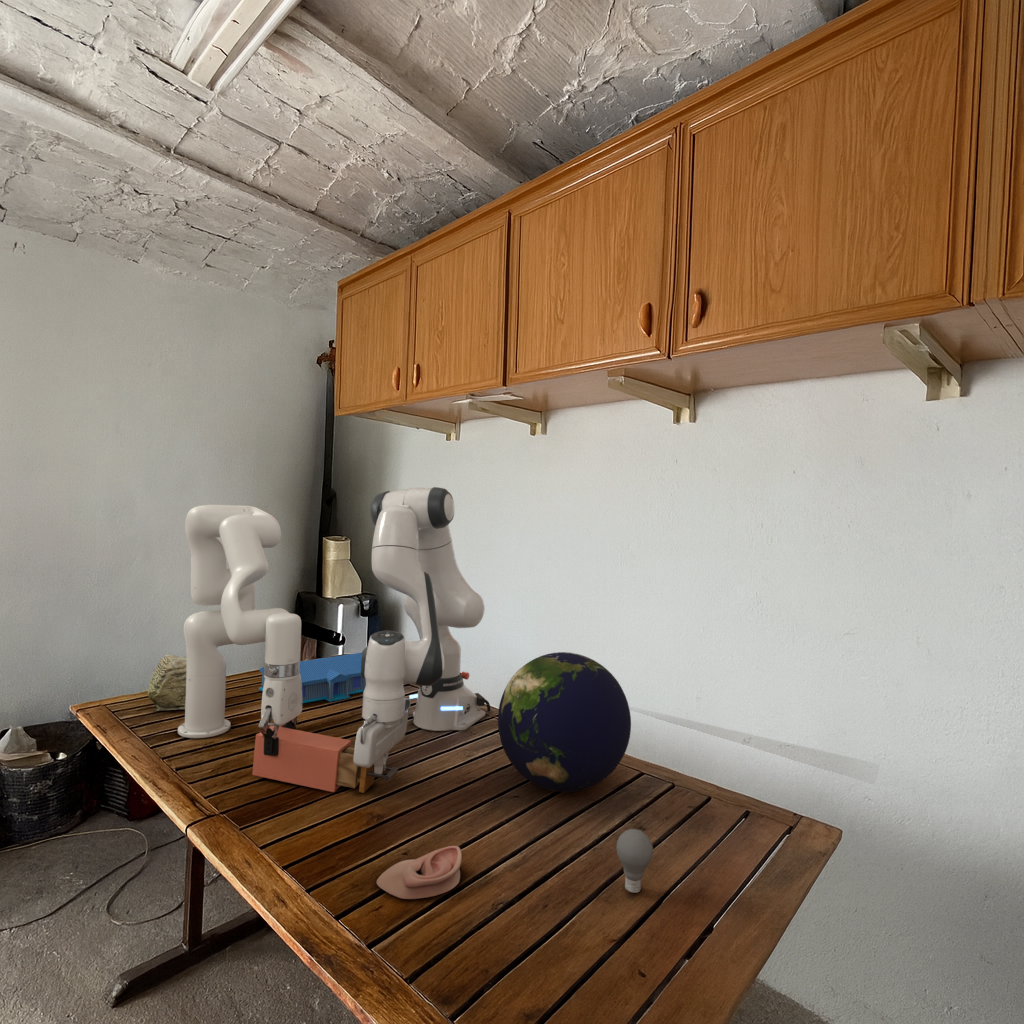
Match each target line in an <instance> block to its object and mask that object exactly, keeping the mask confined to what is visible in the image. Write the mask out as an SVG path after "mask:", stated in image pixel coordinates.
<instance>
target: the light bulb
mask: <svg viewBox="0 0 1024 1024" xmlns="http://www.w3.org/2000/svg"><path fill="white" fill-rule="evenodd" d="M615 849H616V854H617V857H618V859H619V861H620V863H621V865H622V867H623V873H624V874H623V875H624V876H625V878H624V888H625V890H627V891H628V892H630V893H634V894H635V893H639V892H640V891H641V889H642V887H641V886H642V879H643V877H644V875H645V871H646V868H647V867H648V866H649V864H650V863H651V861H652V859H653V855H654V847H653V843H652V841H651V838H649V836H648V835H647V834H646V833H645V832H643V831H642V830H641V829H636V828H629V829H627V830H625V831H623V832H622V833H621V834H620V835H619V837H618V839H617V841H616V847H615Z"/></svg>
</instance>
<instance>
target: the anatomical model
mask: <svg viewBox="0 0 1024 1024" xmlns="http://www.w3.org/2000/svg"><path fill="white" fill-rule="evenodd" d="M462 859H463V855H462V850H461V847H459V846H457V845H449V846H445V847H441V848H438V849H436V850H433V851H430V852H428V853H426V854H424V855H422V856H420V857H417V858H413V859H412V858H411V859H404V860H401V861H399V862H397V863H395V864H393V865H391V866H390V867H388V868H387V869H386V870H384V871H383V872H382V873H381V875H379V876H378V878H377V879H376V885H377V887H379V888H380V889H381V890H383V891H384V892H386V893H387V894H389V895H391V896H393V897H396V898H399V899H401V900H417V899H424V898H430V897H435V896H438V895H442V894H444V893H445V894H446V893H447V892H449V891H451V890H452V889H454V888H455V887H456V886H457V885H458V884H459V883H460V880H461V870H460V867H461V865H462Z"/></svg>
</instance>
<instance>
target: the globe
mask: <svg viewBox="0 0 1024 1024" xmlns="http://www.w3.org/2000/svg"><path fill="white" fill-rule="evenodd" d="M497 712H498V713H497V730H498V735H499V740H500V743H501V746H502V749H503V751H504V753H505V756H506V757H507V759H508V761H509V762H510V764H511V765H512V766H513V768H515V770H516V771H517V772H518V773H519V774H520V775H521V776H522V777H524V778H525V779H526V780H527V781H529V782H530V783H532V784H533V785H534V786H535V785H536V786H538V787H540V788H542V789H545V790H547V791H551V792H557V793H574V792H581V791H584V790H587V789H591V788H593V787H594V786H597V785H598V784H600V783H601V782H603V781H604V780H605V779H607V778H608V777H609V776H610V775H611V774H612V773H613V772H614V771H615V770H616V768H617V767H618V766H619V765H620V763H621V762H622V760H623V758H624V756H625V754H626V751H627V749H628V745H629V742H630V738H631V731H632V730H631V729H632V717H631V710H630V705H629V702H628V698H627V697H626V694H625V692H624V690H623V687H622V686H621V684H620V683H619V681H618V680H617V678H616V677H615V676H614V675H613V673H612V672H610V671H609V669H607V668H606V667H605V666H604V665H602V664H601V663H600V662H598V661H596V660H594V659H592V658H590V657H588V656H586V655H582V654H579V653H575V652H570V651H561V652H559V651H558V652H551V653H547V654H543V655H540V656H538V657H536V658H534V659H532V660H529V661H528V662H527V663H525V664H524V665H523V666H521V667H520V668H519V669H518V670H517V671H516V672H514V674H513V676H512V677H511V678H510V679H509V681H508V682H507V684H506V686H505V688H504V691H503V692H502V696H501V698H500V701H499V705H498V711H497Z"/></svg>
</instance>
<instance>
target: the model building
mask: <svg viewBox="0 0 1024 1024" xmlns="http://www.w3.org/2000/svg"><path fill="white" fill-rule="evenodd" d="M361 662H362V652H356V653H349V654H342V655H341V654H340V655H335V656H329V657H328V656H327V657H321V658H315V659H314V658H313V659H307V660H300V675H301V681H302V704H307V703H312V702H317V701H323V700H325V701H327V702H329V703H330V702H335V701H341V700H346V699H347V700H348V699H350V698H351V695H353V694H359V693H363V692H364V689H365V686H366V680H365V679H364V678H363V676H362V675H361ZM259 672H260V673H261V686H260V687H258V690H260V691H261V692H263V687H264V681H265V679H266V678H264V667H263V666H262V667H260V668H259Z"/></svg>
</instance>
